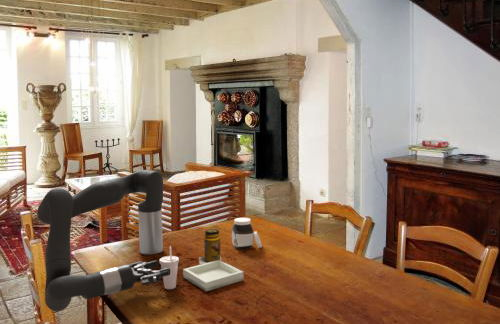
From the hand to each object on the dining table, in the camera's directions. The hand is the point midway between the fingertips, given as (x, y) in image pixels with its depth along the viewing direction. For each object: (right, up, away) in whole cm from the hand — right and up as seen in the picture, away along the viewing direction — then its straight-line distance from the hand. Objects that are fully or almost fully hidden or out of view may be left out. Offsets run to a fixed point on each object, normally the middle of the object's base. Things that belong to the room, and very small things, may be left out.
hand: (163, 267), depth 154 cm
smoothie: (+2, -7, +3) cm, 8 cm away
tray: (+15, -6, +10) cm, 19 cm away
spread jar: (+27, -1, +44) cm, 51 cm away
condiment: (+13, -4, +28) cm, 31 cm away
